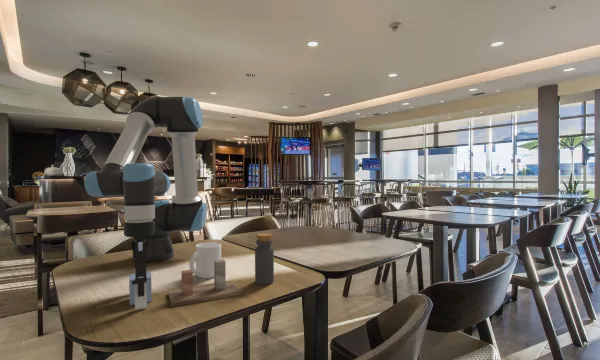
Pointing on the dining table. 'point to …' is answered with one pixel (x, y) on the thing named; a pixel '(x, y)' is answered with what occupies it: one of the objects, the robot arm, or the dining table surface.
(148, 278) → the light blue block
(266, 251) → the bottle
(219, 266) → the stand
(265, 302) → the dining table surface
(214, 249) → the mug
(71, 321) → the dining table surface
